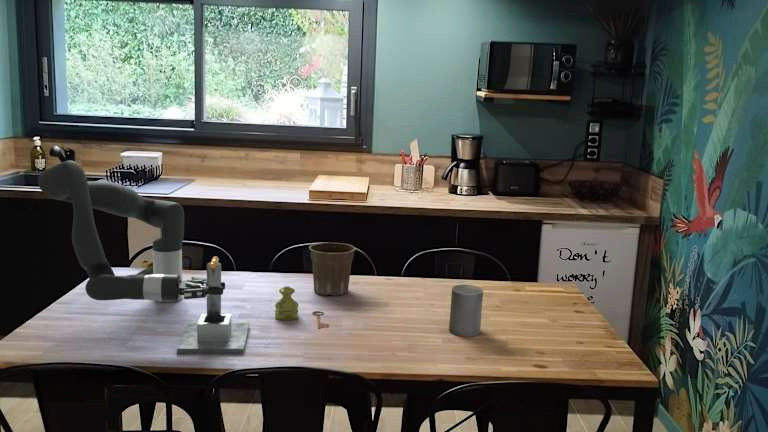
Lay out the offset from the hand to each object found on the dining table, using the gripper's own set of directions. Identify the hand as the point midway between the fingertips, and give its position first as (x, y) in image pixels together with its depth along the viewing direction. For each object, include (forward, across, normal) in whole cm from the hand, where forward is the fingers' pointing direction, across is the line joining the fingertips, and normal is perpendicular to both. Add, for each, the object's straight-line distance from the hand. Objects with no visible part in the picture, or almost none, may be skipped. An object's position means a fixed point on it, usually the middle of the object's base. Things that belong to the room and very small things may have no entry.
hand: (223, 288), depth 208 cm
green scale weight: (+17, +20, +16) cm, 31 cm away
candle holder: (-2, 0, +16) cm, 16 cm away
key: (+29, +17, +16) cm, 37 cm away
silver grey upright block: (-3, 0, +10) cm, 10 cm away
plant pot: (+32, +47, +15) cm, 59 cm away
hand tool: (-35, +63, +16) cm, 74 cm away
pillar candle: (+73, +7, +15) cm, 75 cm away
